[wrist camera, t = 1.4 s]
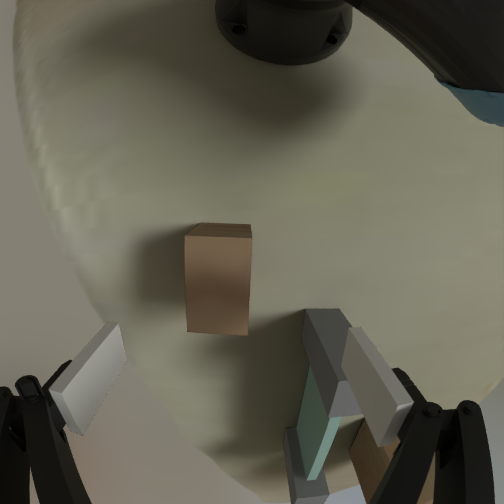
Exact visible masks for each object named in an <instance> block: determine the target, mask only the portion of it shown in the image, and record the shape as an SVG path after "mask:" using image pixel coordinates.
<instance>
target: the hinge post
mask: <svg viewBox="0 0 504 504" xmlns="http://www.w3.org/2000/svg"><path fill="white" fill-rule="evenodd" d="M351 327H352V326H351V324H350V323H349V322H348V320H347V319H346V317H345V316H344V315H343V313H342V312H341V310H340V309H305V317H304V324H303V332H302V339H301V340H302V343H303V346H304V349H305V351H306V354H307V357H308V360H309V363H310V366H311V369H312V372H313V375H314V378H315V381H316V384H317V387H318V390H319V393H320V396H321V399H322V402H323V405H324V408H325V411H326V414H327V417H328V418H333V417H342V416H350V415H357V414H363V413H362V411H361V408H360V406H359V404H358V402H357V400H356V397H355V395H354V393H353V391H352V389H351V387H350V385H349V382H348V380H347V378H346V376H345V374H344V372H343V370H342V368H341V364H342V359H343V355H344V350H345V344H346V339H347V334H348V328H351Z"/></svg>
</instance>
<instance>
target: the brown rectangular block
mask: <svg viewBox="0 0 504 504" xmlns="http://www.w3.org/2000/svg"><path fill="white" fill-rule="evenodd" d="M251 256H252V231H251V225H250V224H226V223H200V224H199V225H198V226H196V227H195V228H194V229H193V230H191V231H190V232H189V233H187V234H186V235H185V295H186V319H187V332H195V333H209V334H226V335H248V318H249V298H250V277H251Z"/></svg>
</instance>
